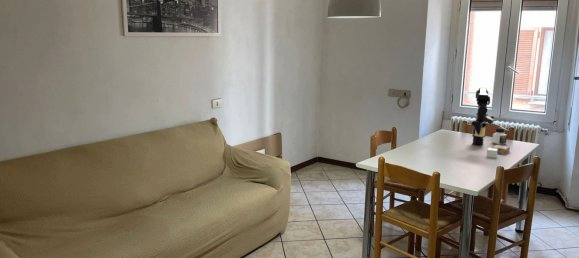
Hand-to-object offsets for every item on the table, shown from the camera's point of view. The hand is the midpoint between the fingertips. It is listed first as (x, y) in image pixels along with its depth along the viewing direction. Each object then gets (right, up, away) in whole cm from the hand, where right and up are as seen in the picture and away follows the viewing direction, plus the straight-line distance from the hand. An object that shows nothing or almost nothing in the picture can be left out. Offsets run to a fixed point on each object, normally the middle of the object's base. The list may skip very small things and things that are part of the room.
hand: (479, 133), depth 324 cm
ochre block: (0, -1, 0) cm, 1 cm away
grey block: (+4, -15, -10) cm, 19 cm away
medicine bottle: (+26, -8, +28) cm, 39 cm away
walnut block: (+15, -13, +1) cm, 20 cm away
